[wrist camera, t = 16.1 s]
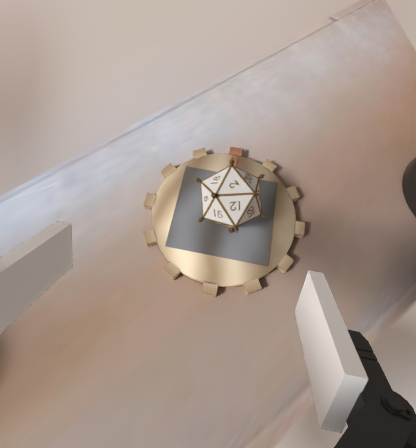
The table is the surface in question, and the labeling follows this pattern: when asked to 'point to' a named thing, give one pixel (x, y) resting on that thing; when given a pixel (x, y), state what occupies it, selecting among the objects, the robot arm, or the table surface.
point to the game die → (231, 197)
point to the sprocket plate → (221, 226)
